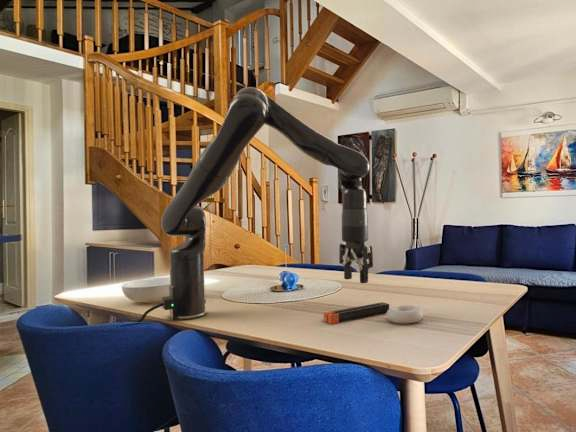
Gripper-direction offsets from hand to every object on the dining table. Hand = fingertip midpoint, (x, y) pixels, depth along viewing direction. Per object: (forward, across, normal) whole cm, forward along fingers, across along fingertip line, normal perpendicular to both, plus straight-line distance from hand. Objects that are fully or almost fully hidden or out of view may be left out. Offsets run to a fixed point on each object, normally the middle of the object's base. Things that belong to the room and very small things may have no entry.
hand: (355, 281), depth 120 cm
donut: (+10, -12, -8) cm, 18 cm away
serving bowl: (+11, +66, +42) cm, 79 cm away
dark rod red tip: (+10, -1, 0) cm, 10 cm away
